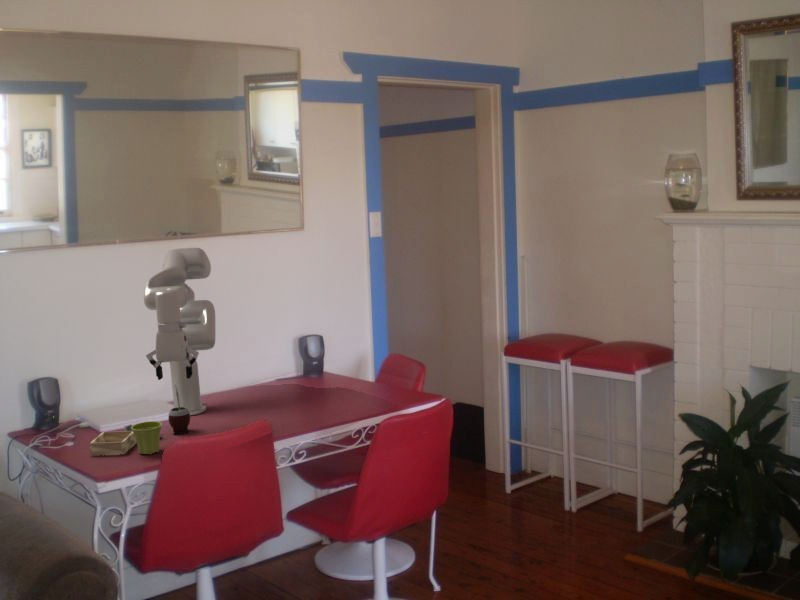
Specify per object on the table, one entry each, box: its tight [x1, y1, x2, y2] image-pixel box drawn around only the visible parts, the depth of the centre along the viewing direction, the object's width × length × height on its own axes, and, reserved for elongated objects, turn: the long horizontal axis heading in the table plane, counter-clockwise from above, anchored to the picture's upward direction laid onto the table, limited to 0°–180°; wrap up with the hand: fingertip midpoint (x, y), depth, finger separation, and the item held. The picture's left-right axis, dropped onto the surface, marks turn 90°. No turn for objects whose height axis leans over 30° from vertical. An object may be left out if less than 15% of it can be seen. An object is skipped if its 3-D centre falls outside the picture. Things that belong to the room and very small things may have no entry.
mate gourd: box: [168, 385, 191, 436], centre depth 314 cm, size 8×8×15 cm
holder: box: [89, 430, 137, 457], centre depth 300 cm, size 12×11×4 cm
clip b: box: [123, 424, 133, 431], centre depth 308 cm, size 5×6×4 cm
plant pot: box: [131, 420, 163, 455], centre depth 295 cm, size 9×9×9 cm
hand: (174, 378), depth 311 cm, fingers open, 9 cm apart
